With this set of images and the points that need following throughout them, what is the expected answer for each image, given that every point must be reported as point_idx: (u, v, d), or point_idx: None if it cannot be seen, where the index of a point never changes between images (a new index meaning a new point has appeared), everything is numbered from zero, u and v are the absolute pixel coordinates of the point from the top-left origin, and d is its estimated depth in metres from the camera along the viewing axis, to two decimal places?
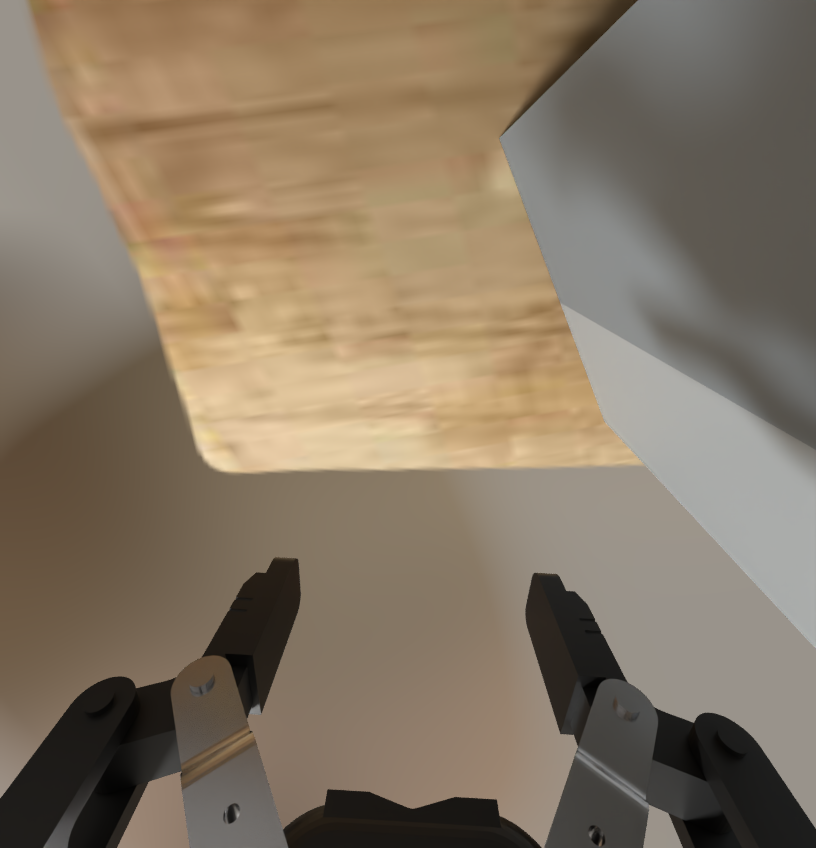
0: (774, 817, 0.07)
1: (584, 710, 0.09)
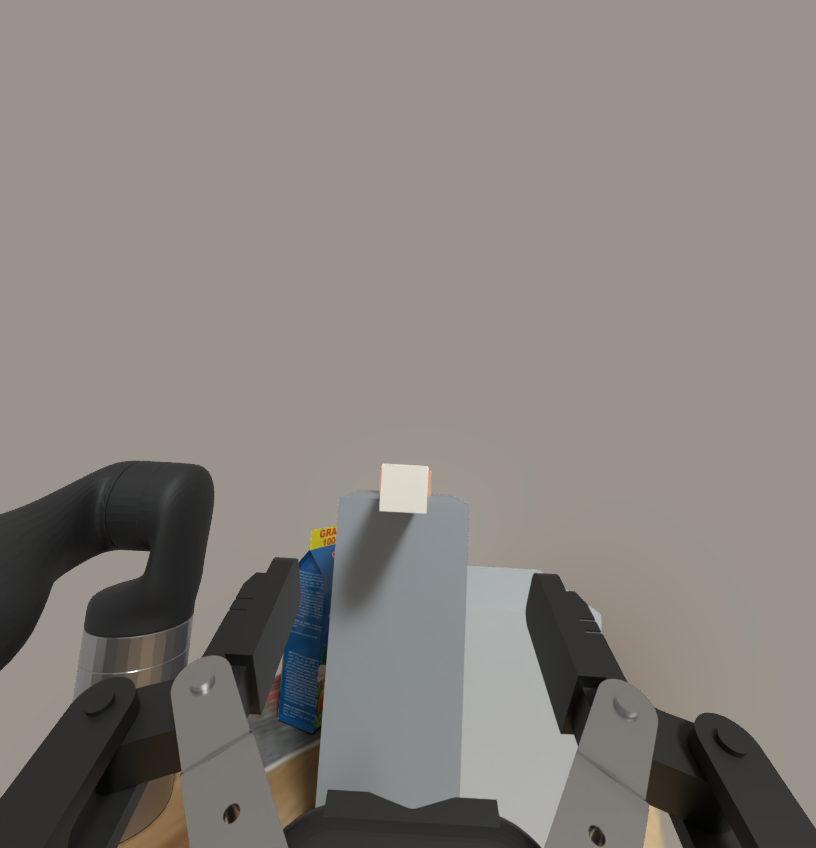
0: (774, 817, 0.07)
1: (584, 710, 0.09)
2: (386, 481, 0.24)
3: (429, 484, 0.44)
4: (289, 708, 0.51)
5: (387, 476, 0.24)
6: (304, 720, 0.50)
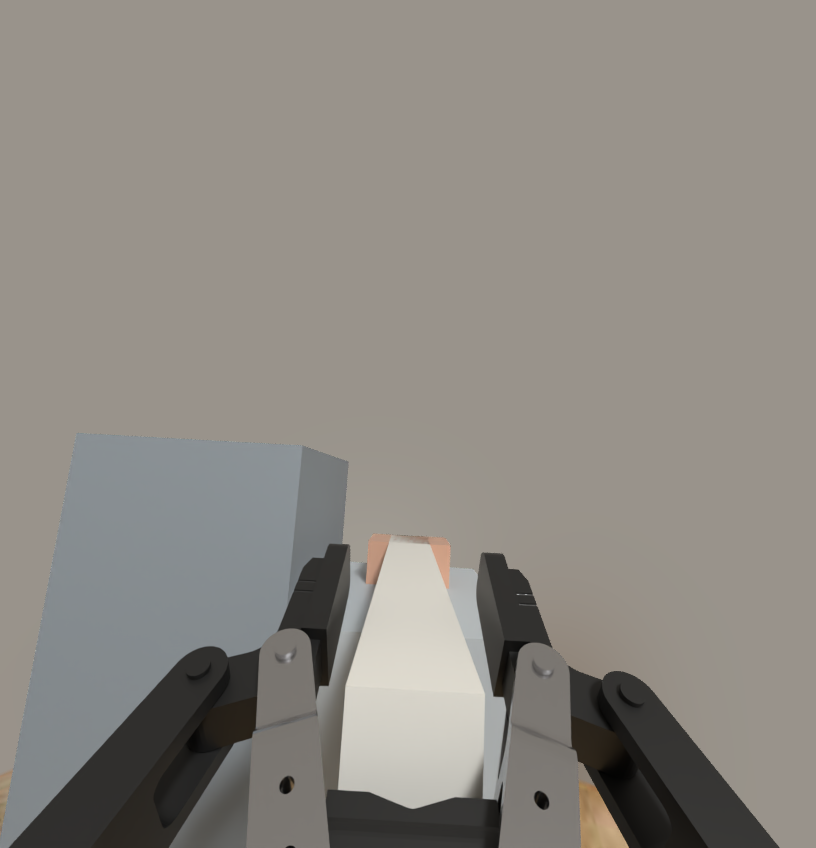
0: (674, 754, 0.08)
1: (510, 672, 0.10)
2: (357, 744, 0.08)
3: (446, 568, 0.28)
4: None
5: (360, 728, 0.08)
6: None
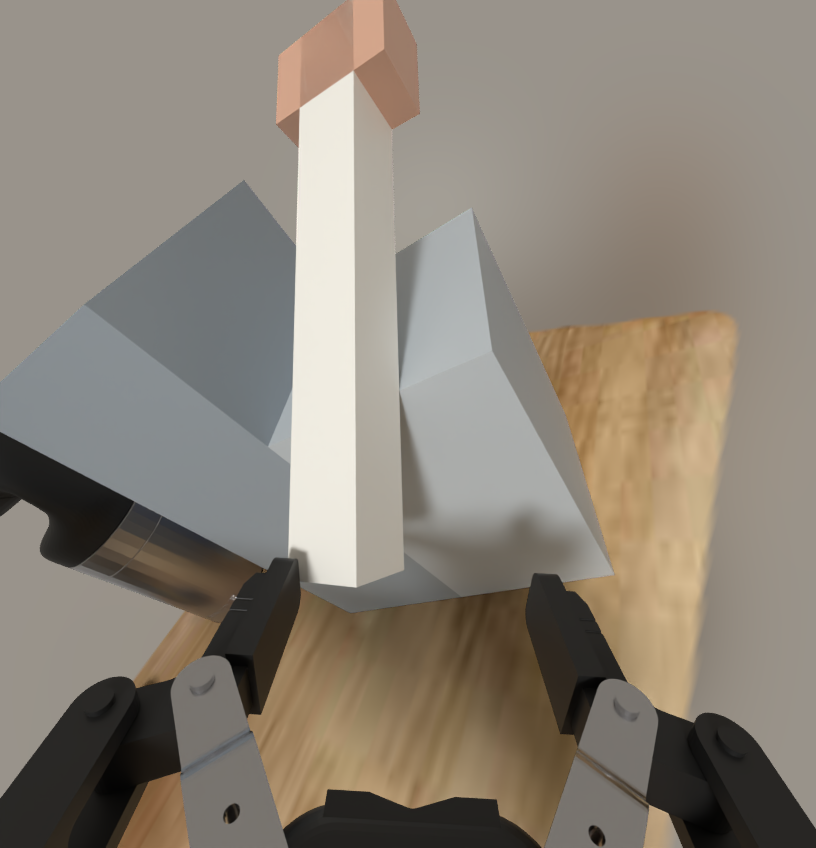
0: (774, 817, 0.07)
1: (584, 710, 0.09)
2: None
3: (400, 89, 0.16)
4: None
5: None
6: None
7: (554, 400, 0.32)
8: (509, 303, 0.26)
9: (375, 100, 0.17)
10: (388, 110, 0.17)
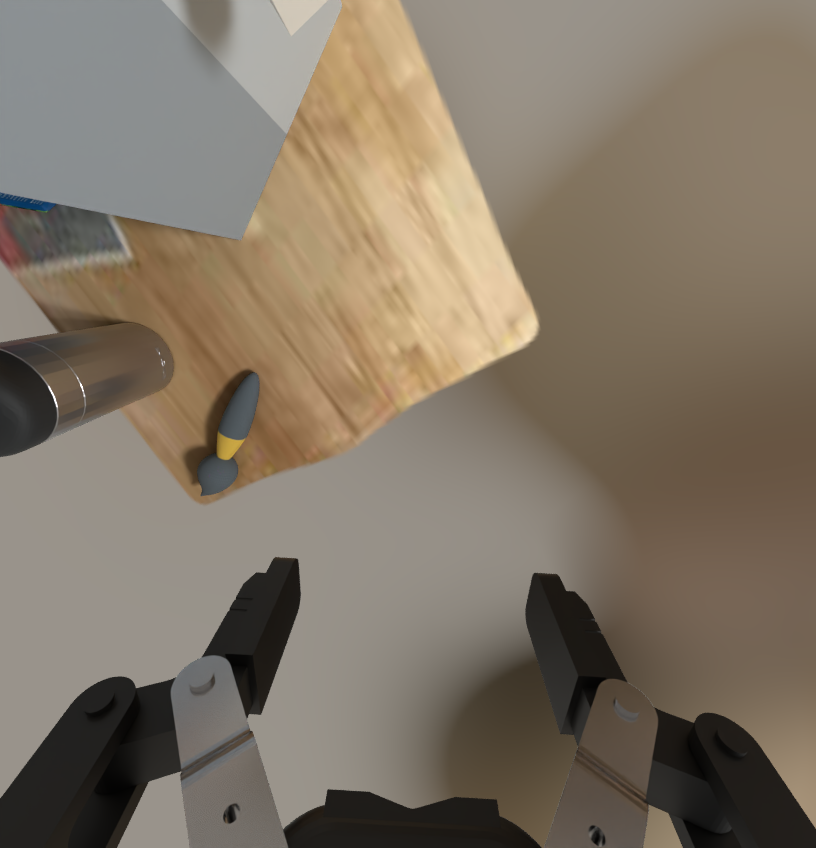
0: (774, 817, 0.07)
1: (584, 710, 0.09)
2: (284, 8, 0.18)
3: None
4: None
5: (283, 3, 0.18)
6: None
7: None
8: None
9: None
10: None
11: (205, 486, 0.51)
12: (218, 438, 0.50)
